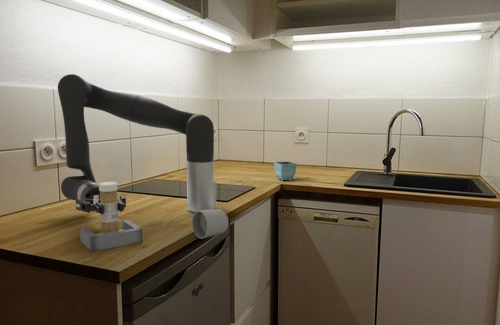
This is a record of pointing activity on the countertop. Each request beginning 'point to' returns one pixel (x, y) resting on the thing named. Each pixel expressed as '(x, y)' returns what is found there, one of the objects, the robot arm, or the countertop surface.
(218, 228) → the ceramic mug
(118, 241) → the bay
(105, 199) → the sprinkles bottle
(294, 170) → the flower pot
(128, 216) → the countertop surface
